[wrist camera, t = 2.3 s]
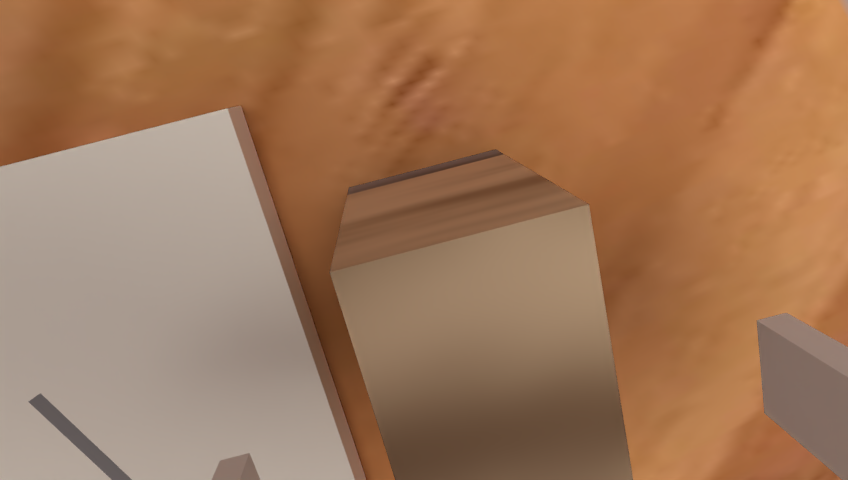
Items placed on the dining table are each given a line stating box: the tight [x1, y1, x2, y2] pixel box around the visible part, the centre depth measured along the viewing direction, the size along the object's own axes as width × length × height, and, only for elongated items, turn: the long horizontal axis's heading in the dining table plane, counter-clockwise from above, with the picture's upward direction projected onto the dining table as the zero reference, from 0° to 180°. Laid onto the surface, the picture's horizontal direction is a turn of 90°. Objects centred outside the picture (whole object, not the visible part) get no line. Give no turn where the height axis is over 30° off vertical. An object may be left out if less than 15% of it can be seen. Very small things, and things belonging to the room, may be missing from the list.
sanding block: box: [330, 150, 633, 480], centre depth 19 cm, size 10×6×10 cm, turn 14°
